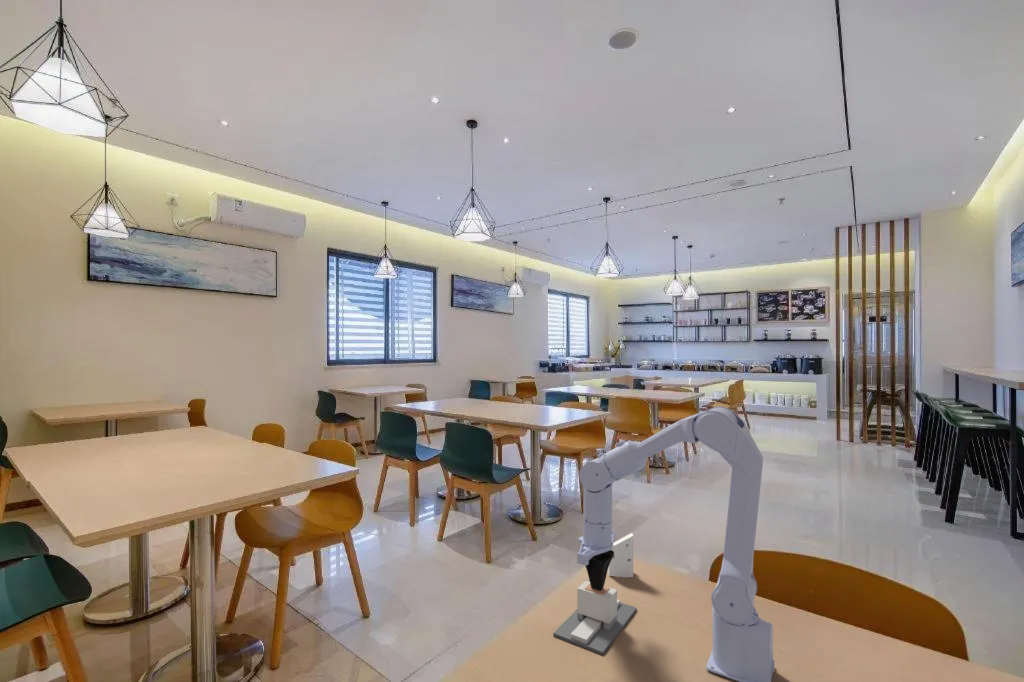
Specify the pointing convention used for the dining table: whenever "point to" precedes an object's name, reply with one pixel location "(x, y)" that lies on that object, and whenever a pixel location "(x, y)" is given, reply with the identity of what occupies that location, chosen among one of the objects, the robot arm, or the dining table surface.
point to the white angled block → (622, 557)
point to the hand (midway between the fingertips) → (597, 588)
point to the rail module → (597, 604)
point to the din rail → (594, 629)
